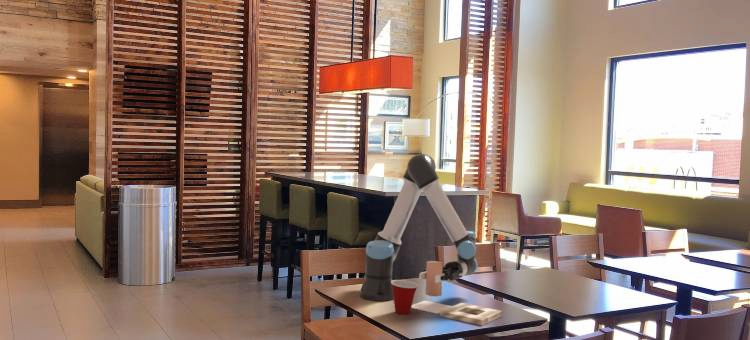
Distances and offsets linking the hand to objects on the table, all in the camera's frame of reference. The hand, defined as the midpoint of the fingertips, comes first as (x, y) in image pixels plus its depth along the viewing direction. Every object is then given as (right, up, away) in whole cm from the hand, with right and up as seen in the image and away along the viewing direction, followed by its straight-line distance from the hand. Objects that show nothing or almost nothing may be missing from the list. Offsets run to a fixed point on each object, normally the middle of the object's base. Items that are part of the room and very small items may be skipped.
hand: (427, 277), depth 257 cm
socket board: (+16, -14, -6) cm, 22 cm away
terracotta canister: (+3, -7, +4) cm, 9 cm away
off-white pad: (+2, -13, +5) cm, 14 cm away
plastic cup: (-10, -13, -5) cm, 17 cm away
